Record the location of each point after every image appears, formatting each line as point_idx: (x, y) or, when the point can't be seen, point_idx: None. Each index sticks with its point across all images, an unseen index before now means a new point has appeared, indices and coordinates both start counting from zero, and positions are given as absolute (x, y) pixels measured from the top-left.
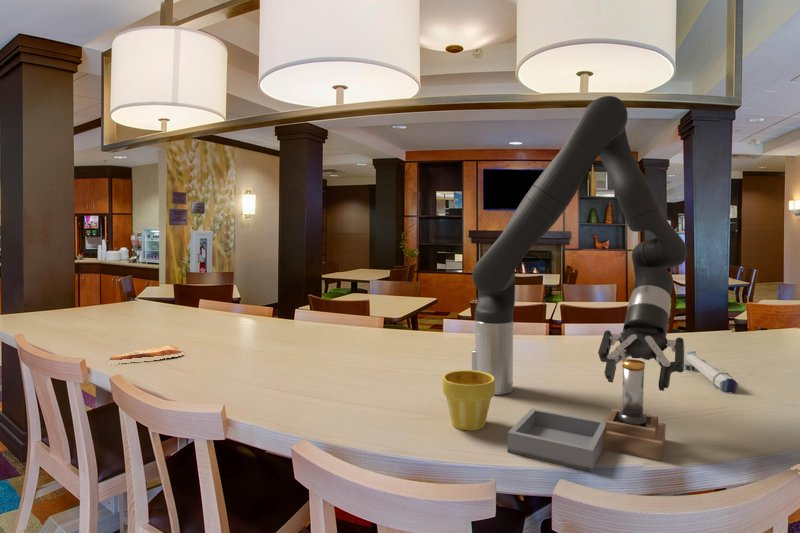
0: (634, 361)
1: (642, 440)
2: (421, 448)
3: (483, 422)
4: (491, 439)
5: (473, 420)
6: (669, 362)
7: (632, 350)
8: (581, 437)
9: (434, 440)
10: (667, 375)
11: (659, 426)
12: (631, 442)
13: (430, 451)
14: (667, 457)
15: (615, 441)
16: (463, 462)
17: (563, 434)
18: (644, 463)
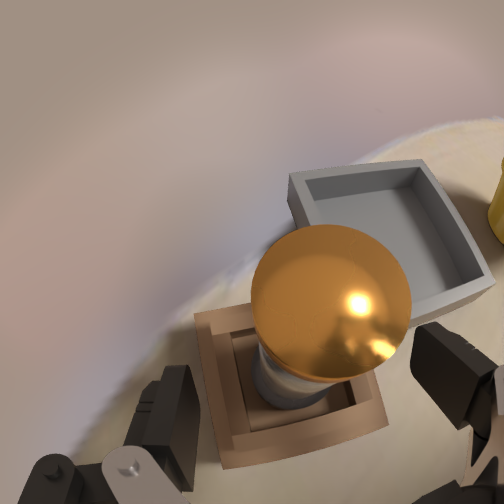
0: (336, 310)
1: (237, 305)
2: (457, 142)
3: (494, 221)
4: (455, 204)
5: (493, 198)
6: (106, 473)
7: (450, 500)
8: None
9: (472, 163)
10: (141, 418)
11: (230, 436)
12: None
13: (447, 141)
14: (196, 357)
15: None
16: (410, 137)
17: (410, 290)
18: (228, 293)
